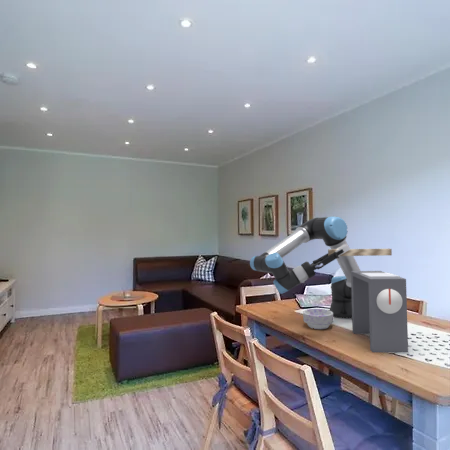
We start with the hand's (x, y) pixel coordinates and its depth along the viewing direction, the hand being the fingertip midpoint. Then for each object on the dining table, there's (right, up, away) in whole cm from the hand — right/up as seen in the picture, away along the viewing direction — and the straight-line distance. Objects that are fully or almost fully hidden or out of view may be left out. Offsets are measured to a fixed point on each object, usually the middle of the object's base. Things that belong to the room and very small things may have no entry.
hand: (347, 246), depth 158 cm
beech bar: (+5, -4, -1) cm, 7 cm away
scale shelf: (+11, -42, -7) cm, 44 cm away
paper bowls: (-9, -43, +18) cm, 48 cm away
